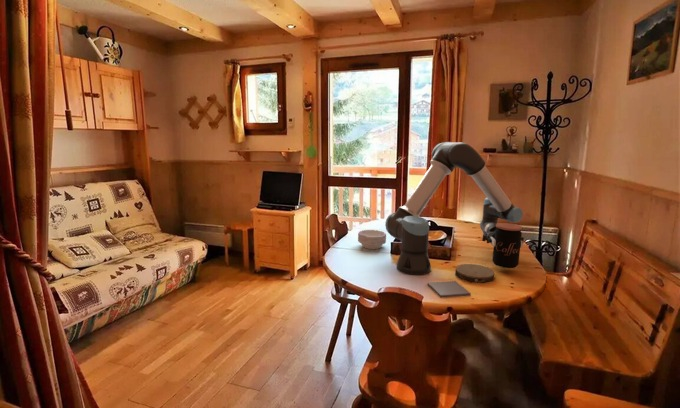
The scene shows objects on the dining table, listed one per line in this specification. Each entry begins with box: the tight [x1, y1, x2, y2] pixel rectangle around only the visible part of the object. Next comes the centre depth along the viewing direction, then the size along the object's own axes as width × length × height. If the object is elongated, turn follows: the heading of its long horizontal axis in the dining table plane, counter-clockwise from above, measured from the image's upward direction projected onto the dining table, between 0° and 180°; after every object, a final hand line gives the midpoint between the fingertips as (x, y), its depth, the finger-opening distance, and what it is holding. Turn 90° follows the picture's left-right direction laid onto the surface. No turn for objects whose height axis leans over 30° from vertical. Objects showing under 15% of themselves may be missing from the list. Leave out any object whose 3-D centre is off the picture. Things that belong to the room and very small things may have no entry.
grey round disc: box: [454, 263, 496, 284], centre depth 155 cm, size 16×16×3 cm
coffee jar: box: [491, 222, 523, 269], centre depth 160 cm, size 11×11×18 cm
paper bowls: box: [357, 229, 387, 250], centre depth 195 cm, size 15×15×8 cm
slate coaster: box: [427, 280, 472, 299], centre depth 140 cm, size 12×12×1 cm
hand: (508, 244), depth 158 cm, fingers closed on coffee jar, 11 cm apart
